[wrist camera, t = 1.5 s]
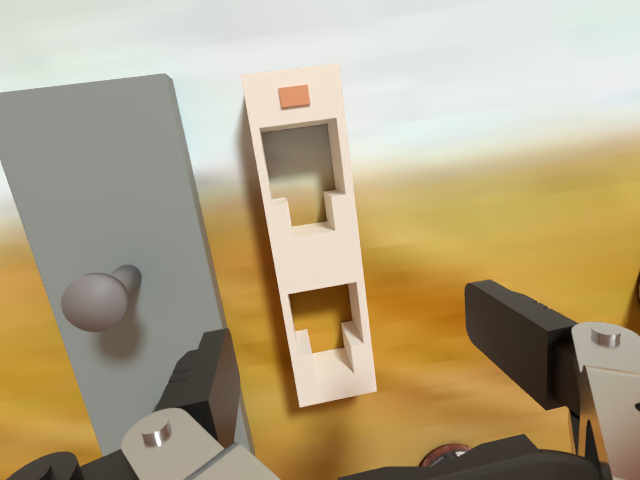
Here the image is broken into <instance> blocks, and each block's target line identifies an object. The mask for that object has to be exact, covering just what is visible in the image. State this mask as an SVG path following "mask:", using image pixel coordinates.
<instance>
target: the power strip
mask: <svg viewBox="0 0 640 480" xmlns="http://www.w3.org/2000/svg"><path fill="white" fill-rule="evenodd" d="M241 80H242V86H243V91H244V97H245V102H246V108H247V114H248V119H249V125H250V131H251V136H252V142H253V147H254V153H255V159H256V164H257V170H258V175H259V181H260V187H261V192H262V198H263V204H264V209H265V215H266V220H267V226H268V232H269V237H270V243H271V249H272V254H273V260H274V265H275V271H276V277H277V282H278V288H279V293H280V299H281V305H282V310H283V316H284V322H285V327H286V333H287V338H288V344H289V350H290V355H291V361H292V367H293V372H294V378H295V383H296V389H297V395H298V400H299V406H300V407H304V406H309V405H314V404H319V403H323V402H328V401H333V400H338V399H342V398H347V397H352V396H357V395H361V394H366V393H371V392H376V391H377V388H376V380H375V371H374V362H373V354H372V345H371V336H370V328H369V319H368V310H367V302H366V293H365V284H364V276H363V267H362V258H361V250H360V241H359V232H358V224H357V215H356V206H355V198H354V189H353V180H352V172H351V163H350V154H349V146H348V137H347V128H346V120H345V111H344V102H343V94H342V85H341V76H340V68H339V63H338V64H330V65H321V66H313V67H305V68H296V69H288V70H280V71H271V72H263V73H255V74H246V75H241ZM321 124H327V125H328V133H329V140H330V148H331V156H332V164H333V172H334V180H335V187H336V190H330V191H323V195H324V202H325V210H326V217H327V221H325V222H319V223H313V224H306V225H300V226H294V227H292V226H291V220H290V214H289V207H288V202H287V200H286V197H284V198H278V199H273V198H272V193H271V187H270V181H269V175H268V169H267V163H266V157H265V152H264V146H263V140H262V134H261V133H262V132H269V131H277V130H284V129H291V128H299V127H306V126H314V125H321ZM347 283H348V289H349V297H350V305H351V313H352V321H347V322H342V323H341V327H342V334H343V342H344V347H343V348H338V349H333V350H328V351H323V352H318V353H313V354H312V351H311V346H310V341H309V336H308V331H307V329H305V330H300V331H295V327H294V321H293V315H292V309H291V303H290V298H289V294H292V293H297V292H303V291H309V290H314V289H320V288H325V287H331V286H336V285H342V284H347Z"/></svg>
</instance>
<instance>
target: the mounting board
mask: <svg viewBox="0 0 640 480" xmlns="http://www.w3.org/2000/svg"><path fill="white" fill-rule="evenodd" d="M0 160H1V163H2V166H3V169H4V172H5V175H6V178H7V181H8V184H9V186H10V189H11V192H12V195H13V198H14V201H15V204H16V207H17V209H18V212H19V215H20V218H21V221H22V224H23V227H24V230H25V233H26V235H27V238H28V241H29V244H30V247H31V250H32V253H33V256H34V258H35V261H36V264H37V267H38V270H39V273H40V276H41V279H42V282H43V284H44V287H45V290H46V293H47V296H48V299H49V302H50V305H51V307H52V310H53V313H54V316H55V319H56V322H57V325H58V328H59V330H60V333H61V336H62V339H63V342H64V345H65V348H66V351H67V354H68V356H69V359H70V362H71V365H72V368H73V371H74V374H75V377H76V379H77V382H78V385H79V388H80V391H81V394H82V397H83V400H84V403H85V405H86V408H87V411H88V414H89V417H90V420H91V423H92V426H93V428H94V431H95V434H96V437H97V440H98V443H99V446H100V449H101V452H102V454H103V457H104V456H106V455H108V454H111V453H113V452H115V451H117V450H119V449H121V443H122V440H123V438H124V436H125V434H126V433H127V432H128V430H129V429H130V428H131V427H132V426H133V425H134V424H136V423H137V422H138V421H140V420H141V419H143V418H144V417H146V416H148V415H150V414H152V413H154V412H155V409H156V407H157V405H158V403H159V401H160V398H161V396H162V394H163V392H164V390H165V387H166V385H167V384H168V381H169V379H170V376H171V375H172V372H173V370H174V368H175V365H176V363H177V361H178V360H179V359H181V358H182V357H183V356H184V355H185V354H186V353H187V352H188V351H191V350H196V349H198V346H199V344H200V341H201V338H202V336H203V333H204V332H208V331H214V330H219V329H224V328H227V324H226V320H225V315H224V311H223V306H222V302H221V297H220V292H219V288H218V283H217V279H216V274H215V270H214V265H213V261H212V256H211V252H210V247H209V243H208V238H207V234H206V229H205V225H204V220H203V216H202V211H201V207H200V202H199V198H198V193H197V189H196V184H195V180H194V175H193V171H192V166H191V161H190V157H189V152H188V148H187V143H186V139H185V134H184V130H183V125H182V121H181V116H180V112H179V107H178V103H177V98H176V94H175V89H174V85H173V80H172V79H171V78H170V77H169V76H168V75H166V74H156V75H148V76H139V77H131V78H122V79H113V80H105V81H96V82H88V83H79V84H71V85H62V86H53V87H45V88H36V89H28V90H19V91H11V92H2V93H0ZM234 442H238V443H240V444H241V445H242V446H243V447H245V448H246V449H247V450H248V451H249V452H250V453H251V454H252V455H254V456H255V451H254V446H253V442H252V437H251V433H250V428H249V423H248V419H247V414H246V410H245V405H244V401H243V396H242V392H241V387H240V397H239V405H238V413H237V421H236V429H235V437H234Z"/></svg>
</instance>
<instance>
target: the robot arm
mask: <svg viewBox="0 0 640 480" xmlns="http://www.w3.org/2000/svg"><path fill="white" fill-rule="evenodd" d="M639 299H640V284H639ZM465 315H466V330H467V333H468V336H469V338H470V340H471V342H472V343H473V344H474V345H475V346H476V347H477V348H478V349H479V350H480V351H481V352H483V353H484V354H485V355H486V356H487V357H488V358H489V359H490V360H491V361H492V362H494V363H495V364H496V365H497V366H498V367H499V368H500V369H501V370H502V371H503V372H504V373H506V374H507V375H508V376H509V377H510V378H511V379H512V380H513V381H514V382H515V383H517V384H518V385H519V386H520V387H521V388H522V389H523V390H524V391H525V392H526V393H527V394H529V395H530V396H531V397H532V398H533V399H534V400H535V401H536V402H537V403H538V404H540V405H541V406H542V407H543V408H544V409H545V410H550V409H554V408H559V407H563V406H567V407H568V425H569V432H570V440H571V447H572V454H571V453H567V452H562V451H556V450H546V449H538V448H537V447H536V446H535V445H534V444H533V443H532V442H531V441H530V440H529V439H528V437H527V436H526V435H525V434H521V435H517V436H513V437H509V438H505V439H500V440H496V441H492V442H488V443H483V444H480V445H478V446H476V447H474V448H473V449H471V450H469V451H467V452H465V453H464V454H462V455H460V456H458V457H456V458H454V459H453V460H451V461H449V462H447V463H445V464H443V465H441V466H434V467H382V468H378V469H374V470H370V471H365V472H361V473H357V474H353V475H349V476H344V477H340V478H338V480H640V336H639V335H638V334H636V333H635V332H633V331H631V330H629V329H626V328H624V327H621V326H618V325H614V324H609V323H602V322H584V323H580V324H578V323H576V322H575V321H573V320H571V319H569V318H567V317H565V316H563V315H561V314H560V313H558V312H556V311H554V310H552V309H548V307H547V306H545V305H543V304H541V303H538V302H537V301H535V300H534V299H532V298H530V297H528V296H526V295H524V294H520V293H517V292H513V291H510V290H509V289H507V288H505V287H503V286H501V285H500V284H498V283H496V282H494V281H492V280H484V281H478V282H473V283H468V284H467V285H466V286H465ZM239 397H240V376H239V370H238V365H237V361H236V356H235V352H234V347H233V343H232V338H231V334H230V331H229V329H228V328H224V329H219V330H214V331H208V332H204V333H203V336H202V338H201V341H200V344H199V346H198V349H196V350H191V351H188V352H187V353H186V354H185V355H184V356H183V357H182V358H181V359H179V360H178V361H177V363H176V365H175V368H174V370H173V372H172V375H171V376H170V379H169V381H168V384H167V385H166V387H165V390H164V392H163V394H162V396H161V398H160V401H159V403H158V405H157V407H156V409H155V412H154V413H152V414H150V415H148V416H146V417H144V418H143V419H141V420H140V421H138V422H137V423H136V424H134V425H133V426H132V427H131V428H130V429H129V430H128V432H127V433H126V434H125V436H124V438H123V440H122V443H121V449H119V450H117V451H115V452H113V453H111V454H108V455H106V456H104V457H101V458H99V459H97V460H94V461H92V462H90V463H88V464H85V465H83V466H81V467H80V466H79V463H78V460H77V458H76V456H75V455H74V454H73V453H71V452H56V453H52V454H49V455H46V456H43V457H41V458H39V459H36V460H34V461H32V462H31V463H29V464H27V465H25V466H24V467H22V468H21V469H19V470H18V471H16V472H15V473H14V474H12V475H11V476H10V477H9V478H8V479H6V480H280V479H279V478H278V477H277V476H276V475H275V474H274V473H273V472H271V471H270V470H269V469H268V468H267V467H266V466H265V465H264V464H262V463H261V462H260V461H259V460H258V459H257V458H256V457H255V456H254V455H252V454H251V453H250V452H249V451H248V450H247V449H246V448H245V447H243V446H242V445H241V444H240V443H238V442H234V437H235V429H236V421H237V413H238V405H239Z"/></svg>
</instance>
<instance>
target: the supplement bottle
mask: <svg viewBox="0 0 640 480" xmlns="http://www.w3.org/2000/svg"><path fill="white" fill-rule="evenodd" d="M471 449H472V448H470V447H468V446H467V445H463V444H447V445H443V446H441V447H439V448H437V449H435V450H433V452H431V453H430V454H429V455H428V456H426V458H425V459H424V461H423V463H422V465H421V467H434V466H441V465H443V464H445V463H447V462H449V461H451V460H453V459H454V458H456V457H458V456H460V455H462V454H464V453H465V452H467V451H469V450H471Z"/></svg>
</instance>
